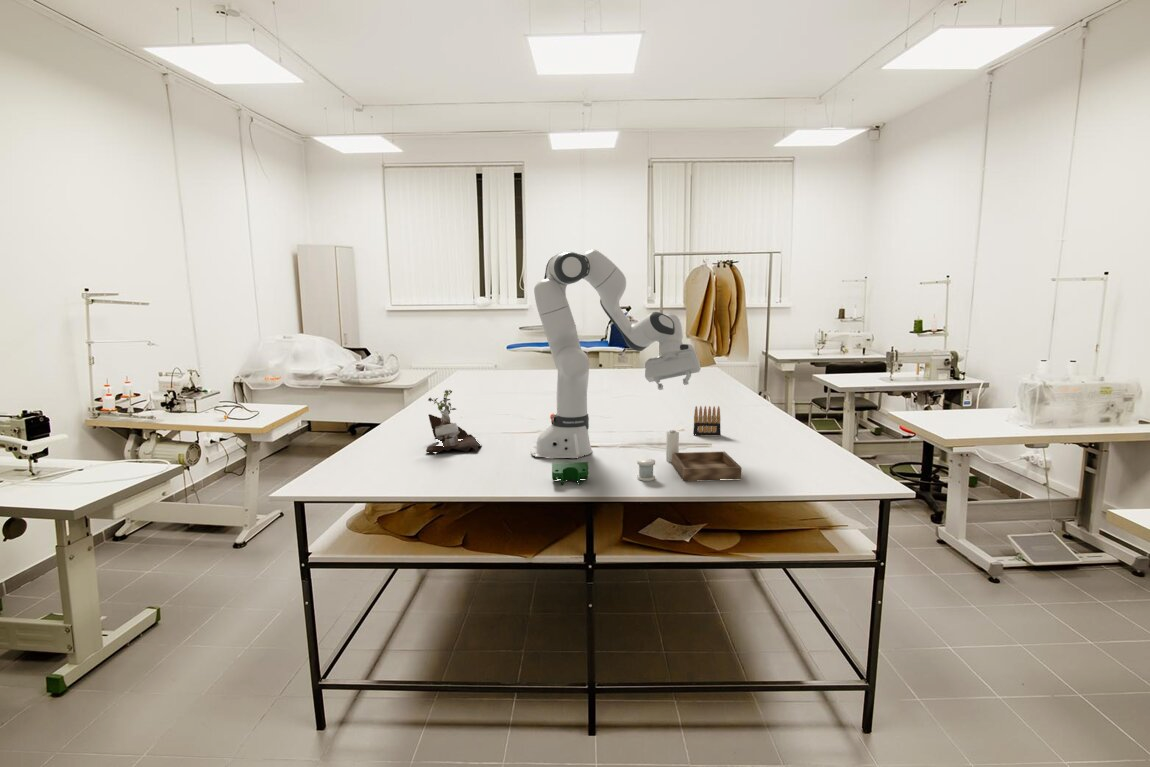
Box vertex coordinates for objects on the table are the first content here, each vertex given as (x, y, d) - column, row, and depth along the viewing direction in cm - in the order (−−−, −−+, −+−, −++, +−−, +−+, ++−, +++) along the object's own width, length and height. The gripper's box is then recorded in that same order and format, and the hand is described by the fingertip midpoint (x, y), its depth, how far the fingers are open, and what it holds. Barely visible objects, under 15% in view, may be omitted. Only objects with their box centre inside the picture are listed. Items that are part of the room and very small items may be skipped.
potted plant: (427, 462, 215) (414, 395, 216) (435, 460, 233) (422, 399, 235) (481, 450, 217) (467, 384, 219) (484, 449, 236) (471, 388, 237)
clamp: (559, 498, 182) (546, 475, 179) (558, 487, 187) (546, 465, 184) (594, 484, 180) (582, 460, 177) (593, 473, 186) (581, 450, 183)
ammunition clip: (720, 434, 238) (720, 405, 236) (720, 435, 236) (721, 406, 234) (693, 434, 240) (693, 405, 238) (693, 435, 238) (694, 406, 236)
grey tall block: (667, 462, 202) (667, 432, 200) (665, 459, 206) (665, 429, 204) (679, 462, 202) (680, 432, 200) (677, 458, 206) (677, 429, 204)
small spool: (638, 481, 183) (638, 463, 182) (636, 476, 188) (636, 458, 187) (656, 481, 183) (656, 463, 182) (653, 475, 188) (653, 458, 187)
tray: (683, 481, 182) (683, 469, 181) (671, 464, 200) (671, 452, 199) (741, 479, 183) (741, 467, 182) (724, 462, 200) (724, 451, 200)
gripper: (641, 355, 219) (642, 388, 212) (695, 343, 211) (697, 376, 204) (648, 364, 224) (648, 395, 217) (700, 352, 216) (703, 385, 209)
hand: (673, 386), depth 210 cm, fingers open, 8 cm apart
